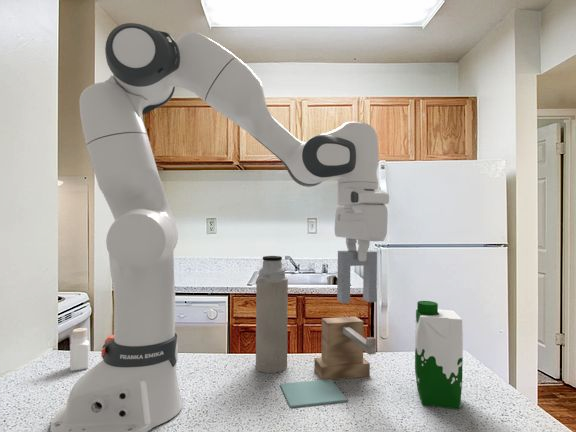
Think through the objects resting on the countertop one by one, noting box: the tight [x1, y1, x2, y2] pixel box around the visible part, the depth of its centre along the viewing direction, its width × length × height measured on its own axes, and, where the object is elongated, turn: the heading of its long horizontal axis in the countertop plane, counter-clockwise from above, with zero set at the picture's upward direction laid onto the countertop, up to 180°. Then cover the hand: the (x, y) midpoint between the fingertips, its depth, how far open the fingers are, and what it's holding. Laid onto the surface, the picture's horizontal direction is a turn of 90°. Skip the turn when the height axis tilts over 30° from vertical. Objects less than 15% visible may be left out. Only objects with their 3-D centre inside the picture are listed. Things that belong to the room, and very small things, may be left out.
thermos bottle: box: [255, 255, 289, 374], centre depth 93 cm, size 8×8×28 cm
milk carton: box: [414, 300, 464, 410], centre depth 77 cm, size 9×9×20 cm
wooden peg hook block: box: [313, 316, 377, 381], centre depth 83 cm, size 12×20×14 cm, turn 13°
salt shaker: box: [69, 327, 90, 372], centre depth 91 cm, size 4×4×10 cm
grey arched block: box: [336, 250, 378, 304], centre depth 81 cm, size 8×3×11 cm, turn 103°
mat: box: [279, 379, 348, 409], centre depth 79 cm, size 12×10×1 cm
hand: (357, 259), depth 81 cm, fingers closed on grey arched block, 3 cm apart
